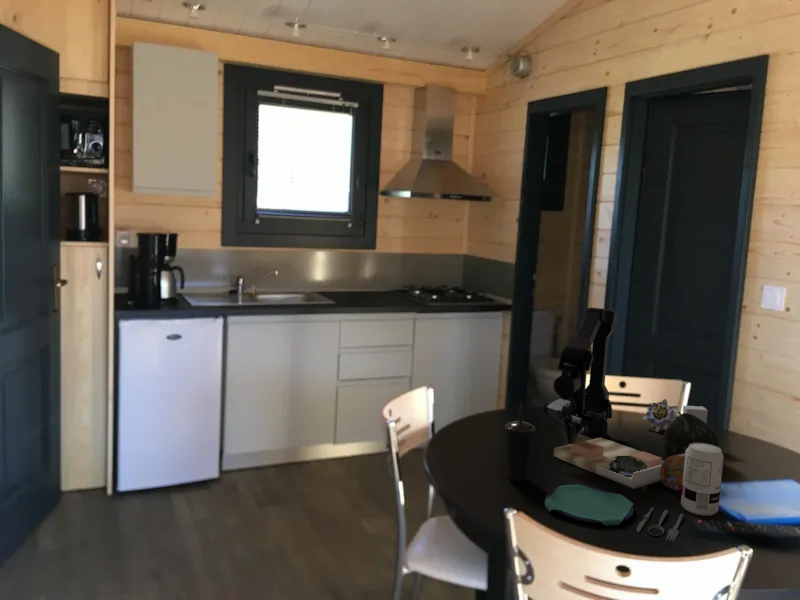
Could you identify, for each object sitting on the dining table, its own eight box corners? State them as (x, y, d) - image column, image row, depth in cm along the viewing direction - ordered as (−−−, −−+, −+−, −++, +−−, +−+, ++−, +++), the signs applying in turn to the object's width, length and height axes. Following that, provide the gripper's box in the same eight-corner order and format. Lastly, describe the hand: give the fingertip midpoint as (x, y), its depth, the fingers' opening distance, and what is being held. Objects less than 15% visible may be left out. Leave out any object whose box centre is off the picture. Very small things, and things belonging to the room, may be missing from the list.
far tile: (628, 463, 196) (629, 454, 196) (642, 460, 199) (643, 451, 199) (647, 470, 191) (648, 461, 191) (661, 466, 195) (662, 457, 194)
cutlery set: (560, 486, 179) (561, 477, 179) (687, 518, 164) (688, 508, 164) (532, 514, 163) (533, 504, 162) (670, 552, 147) (671, 542, 147)
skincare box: (700, 444, 217) (703, 406, 216) (704, 449, 213) (708, 410, 212) (679, 443, 218) (683, 405, 216) (683, 447, 214) (687, 408, 212)
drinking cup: (534, 475, 186) (539, 400, 183) (529, 485, 179) (534, 407, 176) (505, 470, 188) (509, 396, 186) (499, 480, 181) (503, 403, 179)
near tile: (571, 452, 198) (572, 443, 197) (586, 448, 201) (586, 440, 201) (588, 458, 193) (589, 449, 192) (603, 455, 196) (603, 446, 196)
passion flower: (656, 448, 230) (635, 416, 230) (661, 433, 239) (642, 403, 239) (688, 435, 223) (666, 403, 224) (692, 421, 233) (672, 389, 233)
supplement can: (674, 502, 172) (679, 441, 170) (707, 502, 172) (713, 442, 171) (690, 516, 164) (696, 453, 162) (725, 516, 164) (731, 453, 163)
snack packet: (666, 492, 178) (669, 460, 177) (656, 488, 181) (659, 455, 180) (707, 484, 185) (711, 452, 184) (697, 479, 187) (700, 448, 186)
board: (553, 456, 201) (554, 447, 201) (600, 445, 213) (601, 437, 212) (596, 473, 189) (596, 464, 189) (643, 460, 200) (643, 452, 200)
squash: (729, 442, 203) (694, 398, 205) (728, 459, 190) (691, 413, 192) (686, 466, 209) (653, 424, 211) (682, 485, 196) (647, 440, 198)
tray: (596, 473, 189) (597, 458, 188) (643, 460, 200) (644, 447, 200) (634, 488, 179) (635, 473, 179) (681, 474, 191) (682, 460, 190)
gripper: (530, 385, 203) (526, 438, 205) (581, 401, 188) (577, 458, 189) (557, 381, 209) (553, 433, 211) (608, 396, 194) (604, 451, 196)
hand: (570, 443), depth 202 cm, fingers closed
